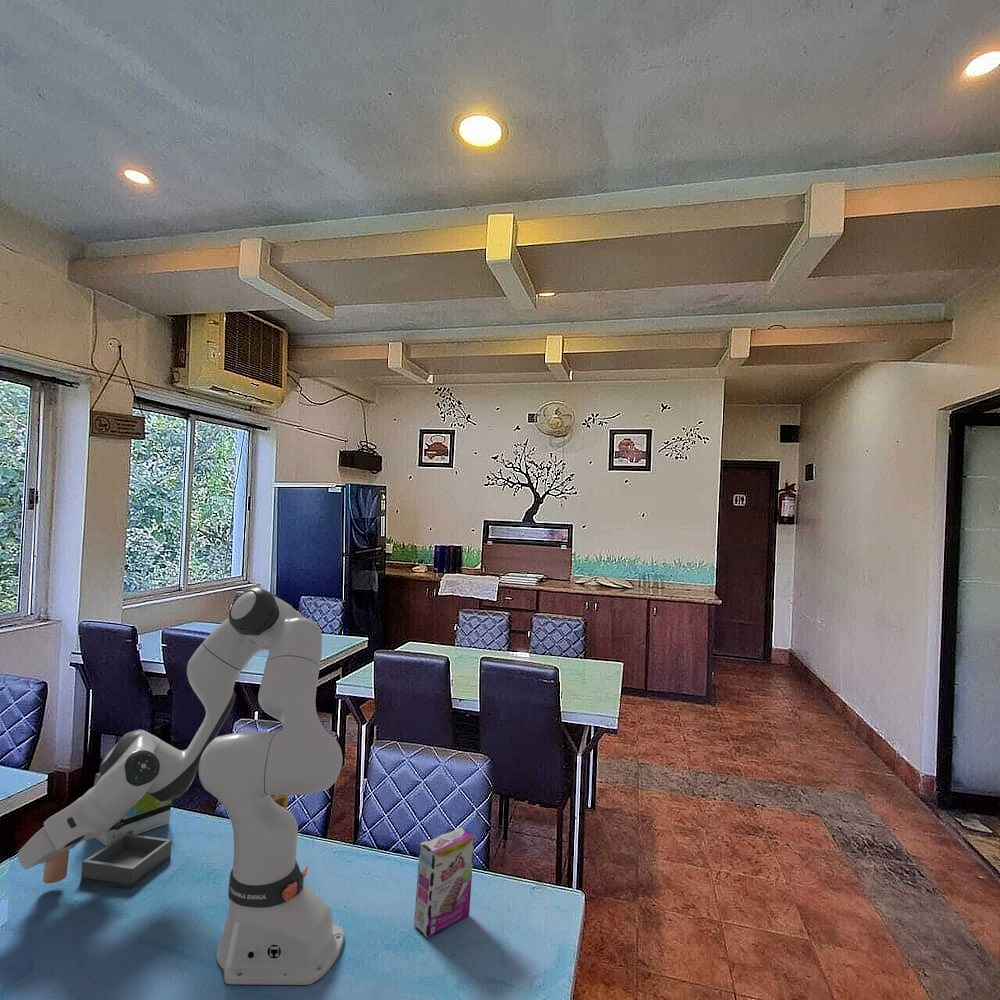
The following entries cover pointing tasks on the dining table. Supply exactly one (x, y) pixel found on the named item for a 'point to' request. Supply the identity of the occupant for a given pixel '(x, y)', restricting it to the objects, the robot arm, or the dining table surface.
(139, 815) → the tea box
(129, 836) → the charcoal bin
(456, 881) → the candy bar box
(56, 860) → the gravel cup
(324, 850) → the dining table surface
